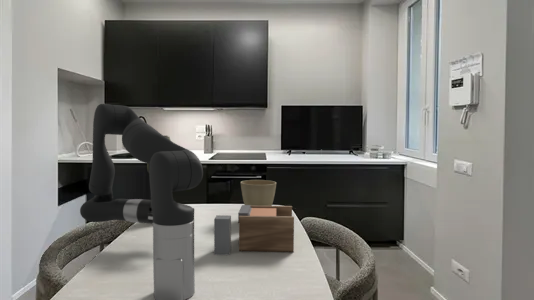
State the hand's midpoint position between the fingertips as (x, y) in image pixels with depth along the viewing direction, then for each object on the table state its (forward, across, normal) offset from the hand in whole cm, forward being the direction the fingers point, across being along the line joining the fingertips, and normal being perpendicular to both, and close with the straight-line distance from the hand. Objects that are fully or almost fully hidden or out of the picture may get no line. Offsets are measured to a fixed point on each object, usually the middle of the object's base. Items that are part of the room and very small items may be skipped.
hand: (188, 214), depth 117 cm
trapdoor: (+20, +10, +2) cm, 23 cm away
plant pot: (+13, +41, +12) cm, 44 cm away
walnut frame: (+23, +11, +11) cm, 28 cm away
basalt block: (+12, 0, +11) cm, 16 cm away
